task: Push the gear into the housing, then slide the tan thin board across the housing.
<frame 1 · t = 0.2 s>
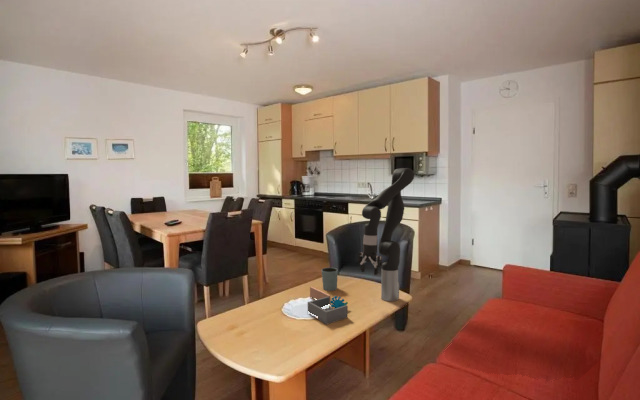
hand: (369, 273, 188), 17 cm above the table, tool pointing down, fingers open, 8 cm apart
housing: (328, 315, 175), on the table
grey green cup: (329, 288, 215), on the table
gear: (339, 312, 179), on the table
tan thin board: (319, 296, 193), point 3 cm above the table, slide at -17.0 cm
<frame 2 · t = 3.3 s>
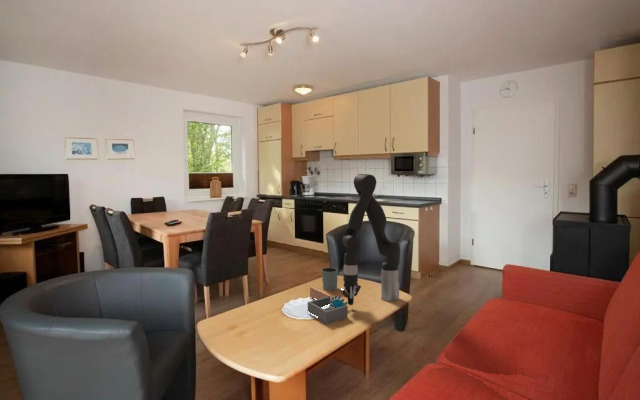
hand: (350, 304, 183), 2 cm above the table, tool pointing down, fingers closed
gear: (339, 312, 180), on the table, touching gripper
everything else where it was.
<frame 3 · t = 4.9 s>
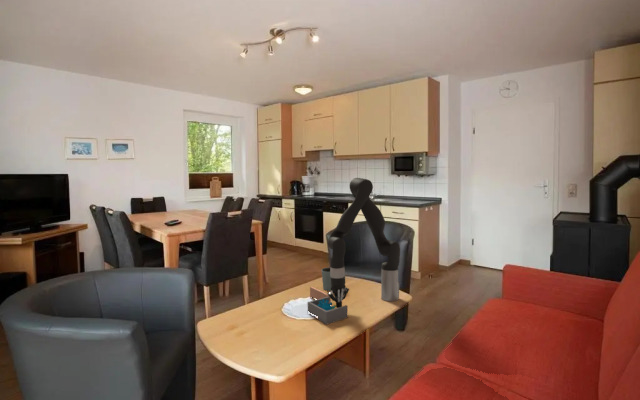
hand: (339, 308, 179), 2 cm above the table, tool pointing down, fingers closed
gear: (327, 316, 175), on the table, touching gripper, housing
everything else where it was.
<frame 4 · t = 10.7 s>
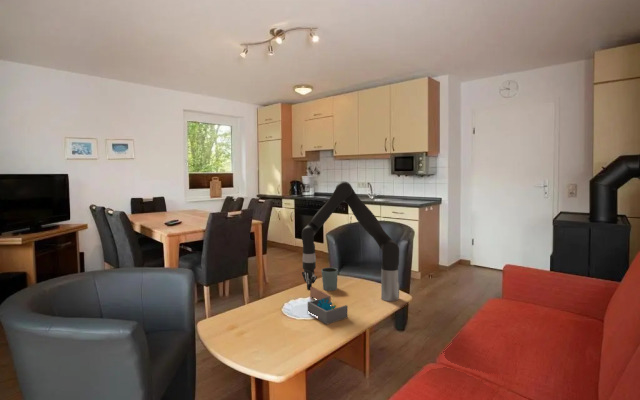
hand: (309, 289, 201), 4 cm above the table, tool pointing down, fingers closed
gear: (327, 315, 175), on the table
tan thin board: (320, 296, 192), point 3 cm above the table, slide at -16.8 cm, touching gripper
everything else where it was.
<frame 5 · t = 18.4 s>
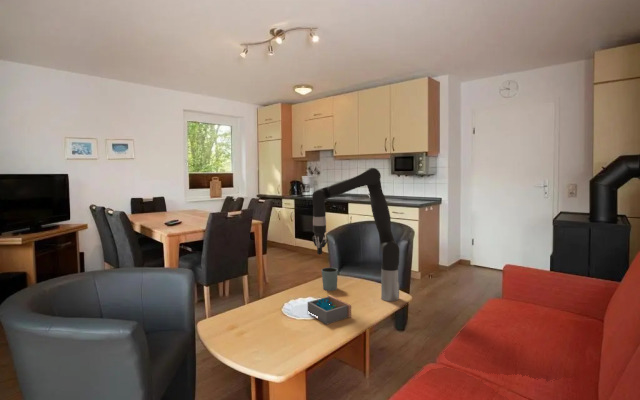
hand: (319, 254, 199), 25 cm above the table, tool pointing down, fingers closed
tan thin board: (339, 305, 179), point 3 cm above the table, slide at 0.0 cm
at the end: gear inside the target area (1.2 cm from its centre), on the table; tan thin board slide at 0.0 cm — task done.
